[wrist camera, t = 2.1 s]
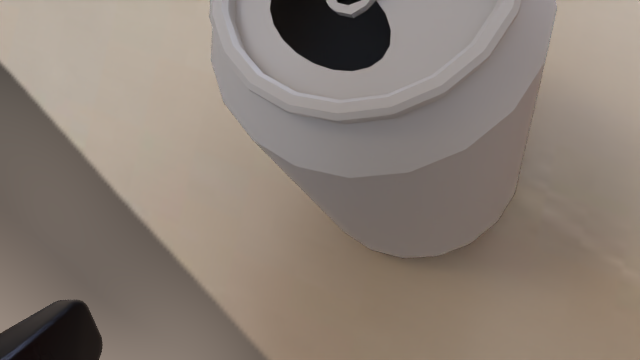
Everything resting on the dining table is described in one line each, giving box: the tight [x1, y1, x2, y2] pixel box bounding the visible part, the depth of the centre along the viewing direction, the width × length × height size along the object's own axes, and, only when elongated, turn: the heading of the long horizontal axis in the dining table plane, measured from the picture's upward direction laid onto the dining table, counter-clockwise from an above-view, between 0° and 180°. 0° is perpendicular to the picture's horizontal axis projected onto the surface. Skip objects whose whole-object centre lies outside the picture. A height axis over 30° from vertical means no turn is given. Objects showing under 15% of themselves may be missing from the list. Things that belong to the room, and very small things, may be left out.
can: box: [209, 0, 557, 258], centre depth 16 cm, size 8×8×12 cm
